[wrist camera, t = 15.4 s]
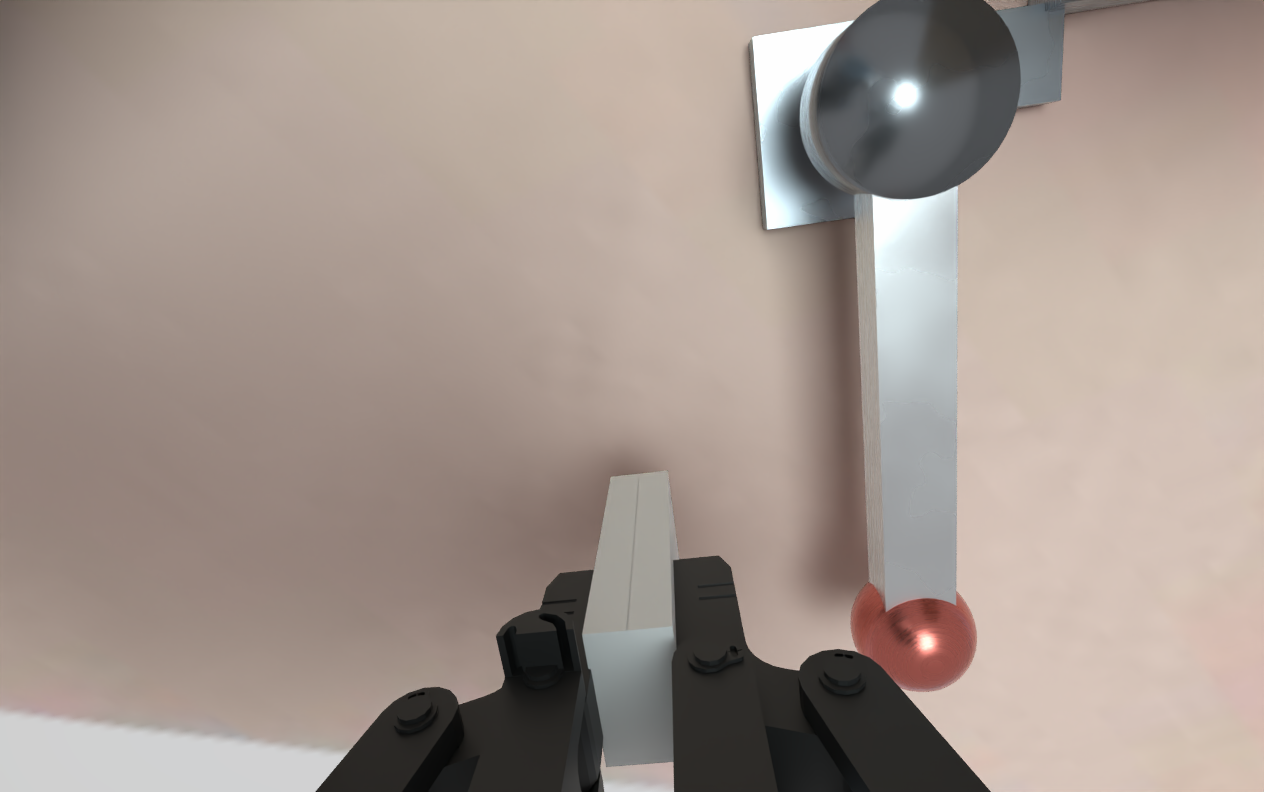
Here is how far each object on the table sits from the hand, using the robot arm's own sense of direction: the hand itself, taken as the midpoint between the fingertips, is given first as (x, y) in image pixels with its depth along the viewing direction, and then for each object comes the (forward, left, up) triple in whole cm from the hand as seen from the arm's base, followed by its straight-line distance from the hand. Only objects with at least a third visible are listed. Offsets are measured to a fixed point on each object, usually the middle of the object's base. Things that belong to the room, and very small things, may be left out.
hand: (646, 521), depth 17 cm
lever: (+7, +3, -2) cm, 8 cm away
